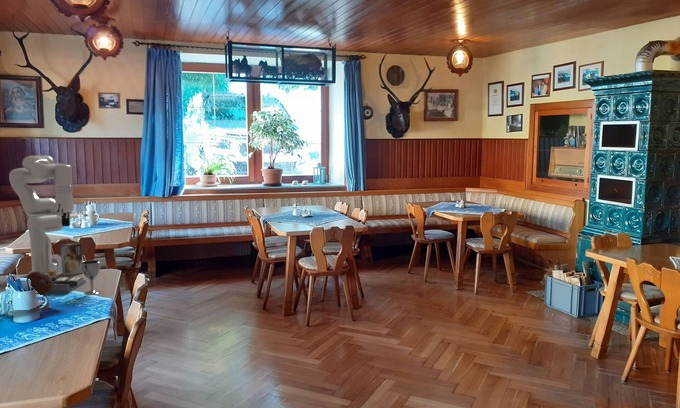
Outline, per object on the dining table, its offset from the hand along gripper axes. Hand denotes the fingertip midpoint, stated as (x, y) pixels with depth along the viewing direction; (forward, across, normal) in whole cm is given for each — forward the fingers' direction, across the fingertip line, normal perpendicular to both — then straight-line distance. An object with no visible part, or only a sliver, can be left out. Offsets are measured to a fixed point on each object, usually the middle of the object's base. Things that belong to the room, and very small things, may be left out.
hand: (66, 225), depth 260 cm
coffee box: (+29, -19, -6) cm, 35 cm away
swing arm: (+21, +12, -2) cm, 24 cm away
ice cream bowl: (+29, +36, +4) cm, 47 cm away
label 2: (+26, +6, +6) cm, 27 cm away
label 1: (+26, +6, 0) cm, 27 cm away
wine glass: (+29, +18, +19) cm, 39 cm away
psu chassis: (+29, +10, +1) cm, 31 cm away
